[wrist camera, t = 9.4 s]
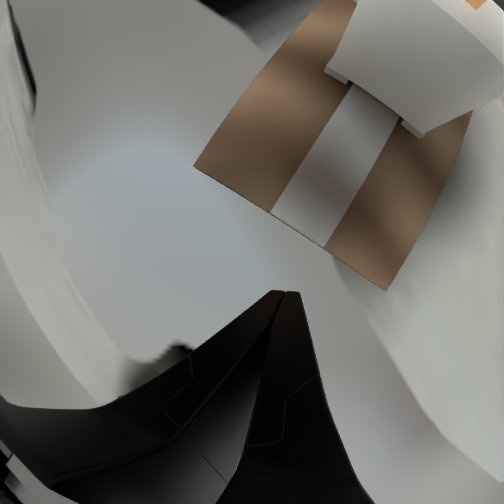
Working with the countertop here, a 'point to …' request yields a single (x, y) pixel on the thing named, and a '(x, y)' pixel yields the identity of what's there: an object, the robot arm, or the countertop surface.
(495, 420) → the countertop surface
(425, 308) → the countertop surface
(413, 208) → the rail board
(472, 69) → the block
